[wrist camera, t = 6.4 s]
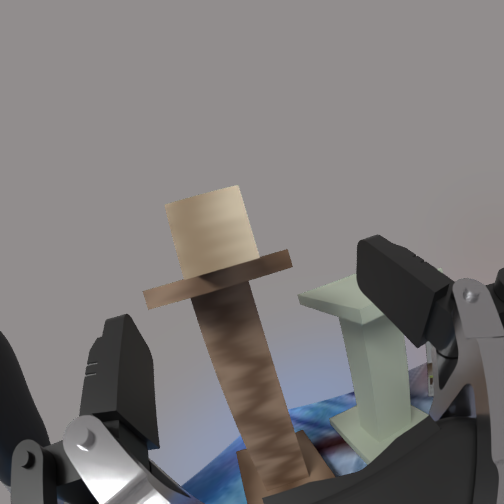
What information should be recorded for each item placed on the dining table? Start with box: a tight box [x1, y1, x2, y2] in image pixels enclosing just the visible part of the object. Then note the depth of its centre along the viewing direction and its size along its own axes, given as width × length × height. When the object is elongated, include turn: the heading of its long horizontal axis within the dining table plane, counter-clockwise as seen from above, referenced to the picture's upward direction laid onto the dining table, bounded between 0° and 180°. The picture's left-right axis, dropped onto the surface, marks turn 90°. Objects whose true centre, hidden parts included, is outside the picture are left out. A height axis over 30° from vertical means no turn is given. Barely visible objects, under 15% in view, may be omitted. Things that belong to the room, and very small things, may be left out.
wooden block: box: [165, 185, 260, 280], centre depth 24 cm, size 3×28×3 cm, turn 10°
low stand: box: [298, 269, 443, 465], centre depth 33 cm, size 12×18×25 cm, turn 10°
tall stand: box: [143, 249, 335, 504], centre depth 30 cm, size 12×18×32 cm, turn 10°
